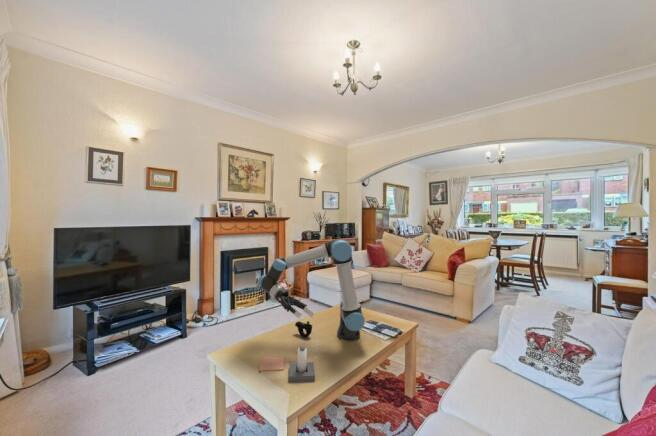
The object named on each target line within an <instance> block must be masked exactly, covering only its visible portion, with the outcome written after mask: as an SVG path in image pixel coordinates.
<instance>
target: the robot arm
mask: <svg viewBox="0 0 656 436" xmlns="http://www.w3.org/2000/svg"><path fill="white" fill-rule="evenodd" d="M352 253H353V248H352V246H351V244H350V243H349V242H348V241H346V240H344V239H342V238H335V239H331V240H329V241H327V242H324V243H323V244H322V245H320V246H316V247H313V248H311V249H307V250H303V251H300V252H297V253H294V254H292V255H291V254H290V255H287V256H285V257H282V258H275V259H274V260H273V262H272V264H271V266H270V268H269V269H268V272H267V273H266V274H263V275H261V276H260V277H259V278H258V280H257V285H258V286H259V287H260V288H261V290H264V291H265V293H267V294H269V295H270V296H271V298H272V299H275V301H277V303H280V305H281V306H282V308H283V309H284V310H285V311H286V312H287V313H289V312H290V313H291V314H293V316H295V317H296V318H297V319H300V317H301V316H302V314H303V312H304V313H306V314H307V316H309V317H310V318H313V316H314V315H315V312H314V311H313V310H312V309H310V308H309V307H307V306H308V305H307V304H305V303H304V302H302V301H300V300H299V299H297V298H295V297H294V296H291V295H290V292H289V291H288V290H287V289H286V288H285V287H283V286H282V285H281V284H280V283H278V281H279V280H280V278H281V276H282V274H283V272H284V271H286V270H289V269H292V268H295V267H298V266H302V265H304V264H307V263H310V262H314V261H317V260H320V259H324V258H328V259H330V258H332V259H331V260H332V264H333V266H335V267H336V272H337V277H338V282H339V288H340V293H341V298H342V300H341V301H340V304H339V326H338V328H337V331H336V337H337V338H338V339H340V340H343V341H347V342H348V341H352V342H353V341H357V340H359V339H361V331H360V330H361V329H362V328H363V327H364V326H365V323H366V319H365V316H364V315H363V309H362V306H361V303H359V301H358V297H357V291H356V286H355V281H354V277H353V271H352V265H351V263H352V262H353V257H352V256H353V255H352ZM297 308H298V309H301V310H302V312H301V311H300V310H298V309H297Z"/></svg>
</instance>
